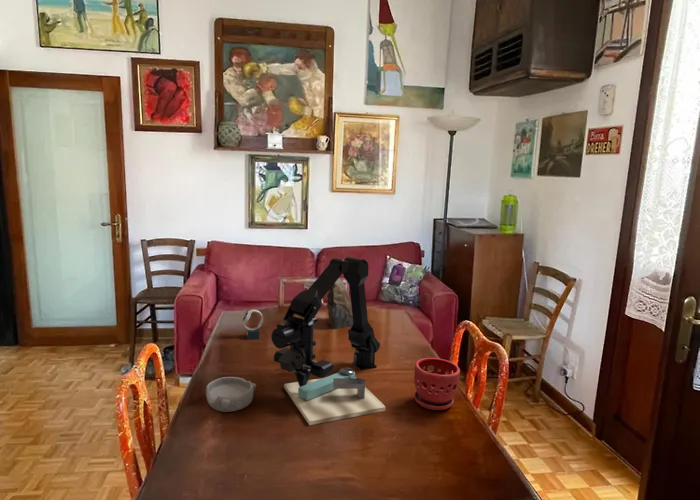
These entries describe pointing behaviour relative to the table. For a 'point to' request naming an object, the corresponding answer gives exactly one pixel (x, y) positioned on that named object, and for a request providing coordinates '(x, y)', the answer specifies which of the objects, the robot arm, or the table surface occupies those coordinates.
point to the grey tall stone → (339, 306)
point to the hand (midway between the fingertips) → (302, 388)
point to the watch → (252, 331)
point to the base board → (333, 404)
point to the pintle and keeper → (350, 382)
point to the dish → (229, 393)
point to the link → (320, 386)
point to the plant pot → (435, 383)
